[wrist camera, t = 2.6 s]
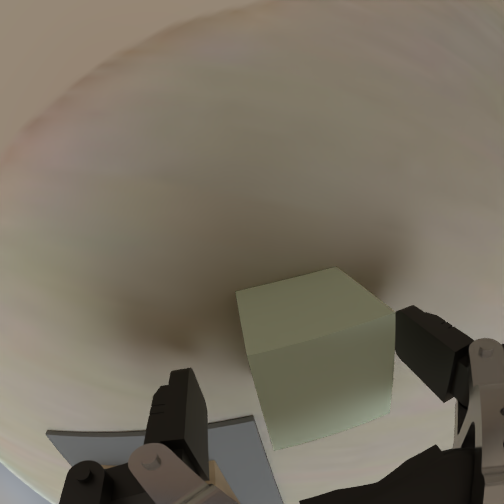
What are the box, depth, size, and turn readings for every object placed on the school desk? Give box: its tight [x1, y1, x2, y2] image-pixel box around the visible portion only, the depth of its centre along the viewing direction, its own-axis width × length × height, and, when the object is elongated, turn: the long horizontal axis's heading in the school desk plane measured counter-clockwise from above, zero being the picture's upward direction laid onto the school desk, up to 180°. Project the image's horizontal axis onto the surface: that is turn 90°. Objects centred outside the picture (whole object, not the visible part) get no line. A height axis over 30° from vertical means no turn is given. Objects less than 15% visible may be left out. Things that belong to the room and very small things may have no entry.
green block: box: [235, 267, 395, 451], centre depth 11 cm, size 4×4×5 cm
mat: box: [46, 416, 283, 504], centre depth 15 cm, size 14×14×1 cm
